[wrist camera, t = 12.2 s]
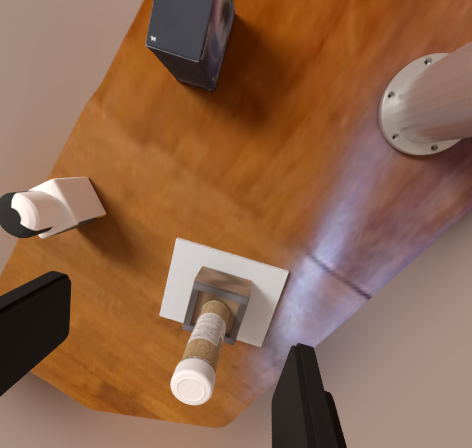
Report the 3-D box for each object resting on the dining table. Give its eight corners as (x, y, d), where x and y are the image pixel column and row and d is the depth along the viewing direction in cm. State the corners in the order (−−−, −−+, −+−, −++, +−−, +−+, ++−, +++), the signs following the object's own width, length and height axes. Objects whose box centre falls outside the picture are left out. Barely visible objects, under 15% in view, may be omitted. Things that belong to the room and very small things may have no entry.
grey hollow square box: (251, 280, 41) (250, 298, 35) (237, 323, 43) (234, 346, 38) (202, 265, 41) (193, 281, 36) (191, 308, 43) (180, 329, 38)
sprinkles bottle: (222, 328, 38) (201, 414, 25) (197, 315, 38) (162, 394, 25) (235, 307, 37) (219, 385, 24) (209, 293, 37) (179, 365, 24)
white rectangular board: (288, 270, 40) (288, 272, 40) (260, 344, 44) (260, 347, 44) (177, 237, 41) (176, 238, 40) (160, 313, 45) (159, 315, 45)
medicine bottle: (75, 228, 43) (6, 251, 31) (55, 191, 41) (-25, 201, 30) (108, 214, 41) (48, 233, 30) (88, 176, 40) (18, 179, 28)
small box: (217, 94, 35) (199, 64, 25) (176, 81, 35) (141, 47, 25) (238, 12, 32) (228, -58, 22) (193, -1, 32) (162, -77, 22)
